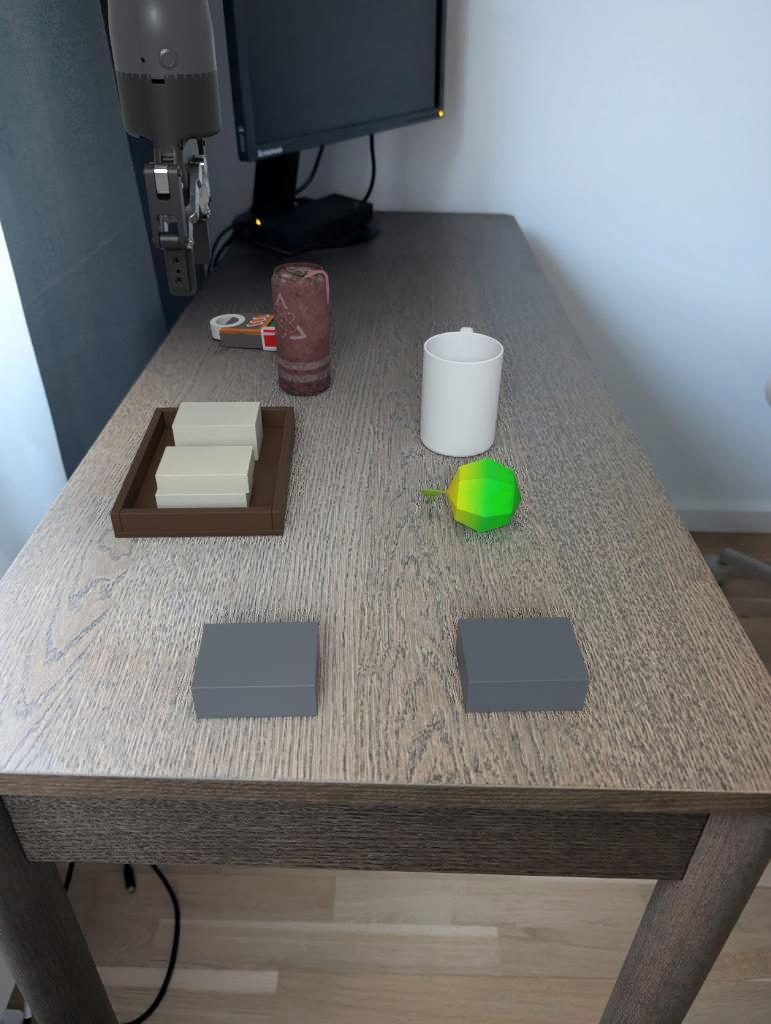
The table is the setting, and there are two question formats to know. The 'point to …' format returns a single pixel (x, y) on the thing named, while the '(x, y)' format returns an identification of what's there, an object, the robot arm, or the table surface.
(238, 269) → the table surface
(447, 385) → the mug
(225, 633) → the pair of grey blocks
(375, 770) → the table surface
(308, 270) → the can
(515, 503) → the apple
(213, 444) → the cream rectangular block
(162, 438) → the tray
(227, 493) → the cream layered block
